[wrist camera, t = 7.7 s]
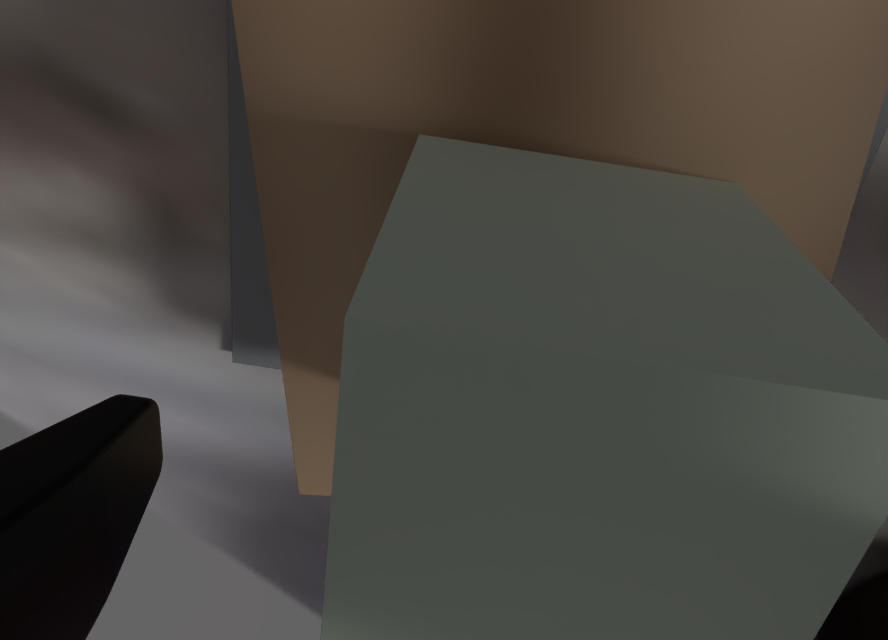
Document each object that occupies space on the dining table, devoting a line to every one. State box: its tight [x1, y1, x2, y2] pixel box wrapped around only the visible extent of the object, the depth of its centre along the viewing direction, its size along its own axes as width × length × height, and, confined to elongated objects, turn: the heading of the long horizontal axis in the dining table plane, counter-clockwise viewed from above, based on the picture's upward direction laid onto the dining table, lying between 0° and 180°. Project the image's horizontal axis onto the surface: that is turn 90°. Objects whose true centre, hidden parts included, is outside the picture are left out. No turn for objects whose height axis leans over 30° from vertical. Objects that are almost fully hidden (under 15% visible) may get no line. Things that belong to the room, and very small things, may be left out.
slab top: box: [231, 0, 888, 496], centre depth 13 cm, size 10×10×2 cm
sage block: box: [320, 134, 888, 640], centre depth 10 cm, size 5×5×6 cm
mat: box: [227, 0, 888, 370], centre depth 16 cm, size 14×11×1 cm
